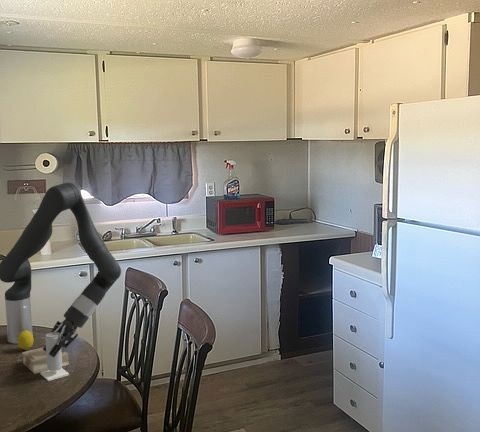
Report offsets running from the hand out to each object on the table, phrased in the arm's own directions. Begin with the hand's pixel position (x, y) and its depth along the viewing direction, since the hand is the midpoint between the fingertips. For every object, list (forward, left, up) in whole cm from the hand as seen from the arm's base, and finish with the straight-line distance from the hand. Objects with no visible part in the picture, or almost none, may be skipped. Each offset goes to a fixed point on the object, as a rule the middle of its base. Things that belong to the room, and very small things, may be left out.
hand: (48, 353), depth 181 cm
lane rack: (-11, +3, -8) cm, 14 cm away
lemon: (-29, +2, -8) cm, 30 cm away
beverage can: (0, +2, -6) cm, 6 cm away
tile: (0, +2, -8) cm, 8 cm away
